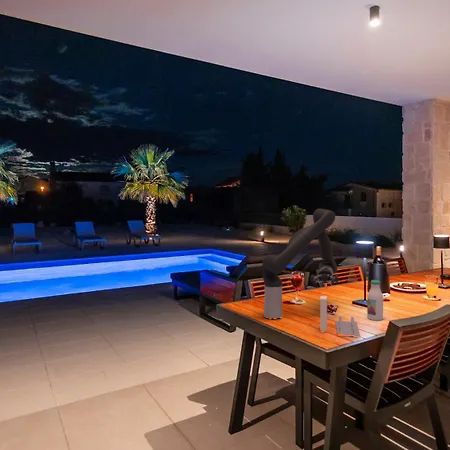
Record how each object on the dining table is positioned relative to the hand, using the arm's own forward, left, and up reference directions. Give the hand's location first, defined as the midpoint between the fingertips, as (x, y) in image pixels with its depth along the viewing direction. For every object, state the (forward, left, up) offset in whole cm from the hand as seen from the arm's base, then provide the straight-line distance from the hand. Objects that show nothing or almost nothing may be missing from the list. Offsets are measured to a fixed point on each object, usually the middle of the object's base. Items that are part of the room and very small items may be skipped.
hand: (323, 282), depth 205 cm
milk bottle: (+26, +9, -20) cm, 34 cm away
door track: (+11, -12, -20) cm, 26 cm away
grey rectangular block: (0, -15, -20) cm, 25 cm away
